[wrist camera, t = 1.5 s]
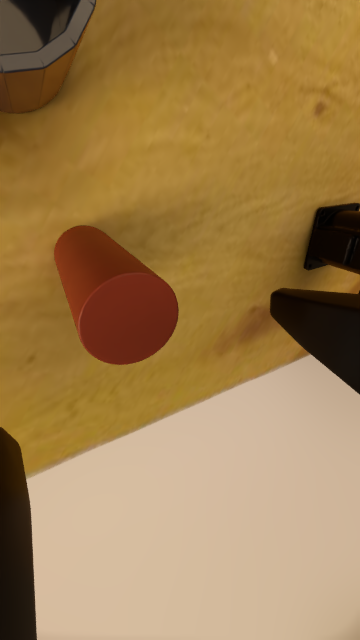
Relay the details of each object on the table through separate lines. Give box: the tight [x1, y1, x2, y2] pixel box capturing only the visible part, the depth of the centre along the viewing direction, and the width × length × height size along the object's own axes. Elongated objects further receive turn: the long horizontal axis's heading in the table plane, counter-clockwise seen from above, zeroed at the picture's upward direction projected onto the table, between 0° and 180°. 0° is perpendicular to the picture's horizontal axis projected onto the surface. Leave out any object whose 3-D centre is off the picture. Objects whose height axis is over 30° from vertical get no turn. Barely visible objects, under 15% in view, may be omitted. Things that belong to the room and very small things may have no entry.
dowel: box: [54, 226, 178, 365], centre depth 14 cm, size 4×4×10 cm
